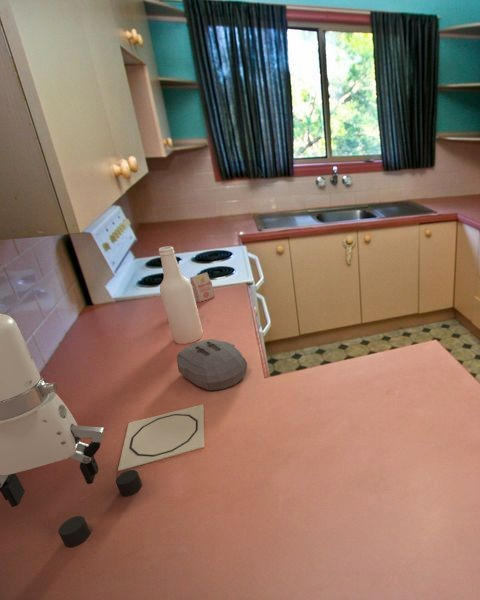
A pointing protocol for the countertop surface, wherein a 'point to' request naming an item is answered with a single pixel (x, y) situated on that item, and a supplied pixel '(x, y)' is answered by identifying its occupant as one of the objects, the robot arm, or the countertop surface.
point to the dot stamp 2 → (128, 482)
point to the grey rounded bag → (212, 364)
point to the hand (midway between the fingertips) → (56, 488)
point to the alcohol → (179, 300)
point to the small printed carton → (202, 287)
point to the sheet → (163, 437)
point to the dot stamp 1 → (74, 531)
